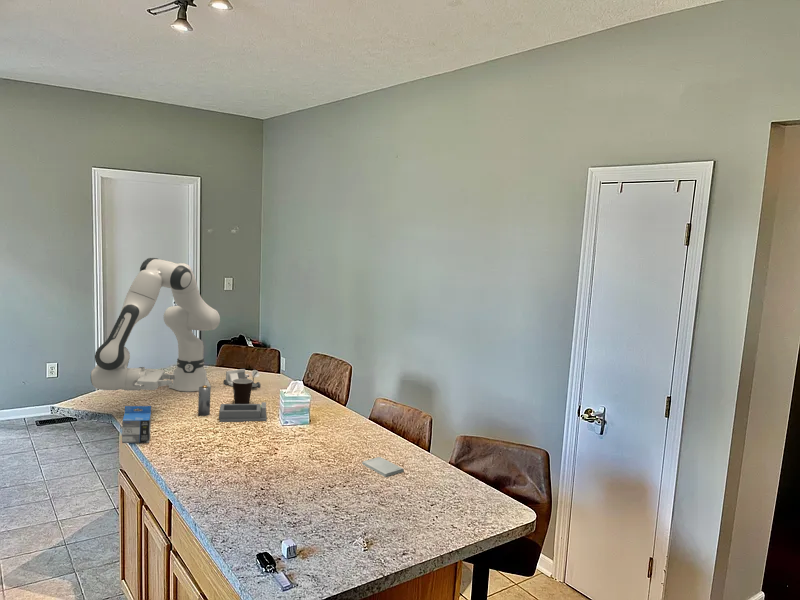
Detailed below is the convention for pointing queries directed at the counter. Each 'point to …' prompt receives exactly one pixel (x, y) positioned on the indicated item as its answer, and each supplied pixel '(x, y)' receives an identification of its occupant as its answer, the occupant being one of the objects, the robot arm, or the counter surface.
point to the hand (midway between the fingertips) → (173, 379)
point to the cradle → (242, 412)
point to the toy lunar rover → (240, 377)
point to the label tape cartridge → (136, 424)
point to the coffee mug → (242, 390)
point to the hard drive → (382, 466)
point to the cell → (204, 401)
